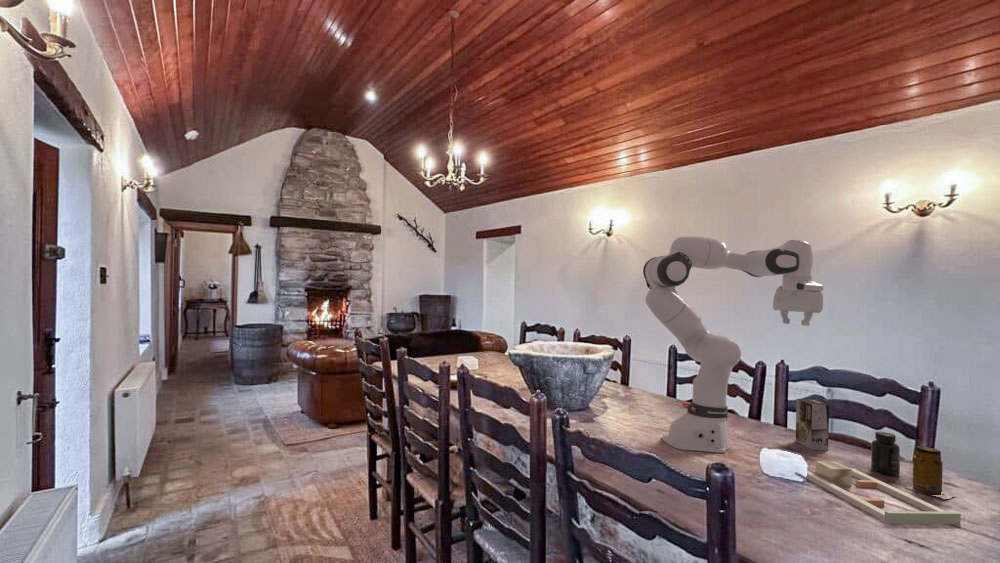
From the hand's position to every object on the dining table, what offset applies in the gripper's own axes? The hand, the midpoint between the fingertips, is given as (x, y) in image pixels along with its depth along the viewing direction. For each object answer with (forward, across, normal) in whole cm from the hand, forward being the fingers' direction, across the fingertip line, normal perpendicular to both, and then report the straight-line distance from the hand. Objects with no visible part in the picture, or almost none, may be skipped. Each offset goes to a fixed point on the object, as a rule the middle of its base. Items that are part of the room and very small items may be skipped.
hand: (795, 324), depth 163 cm
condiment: (+44, +35, +15) cm, 58 cm away
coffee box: (+44, -3, +10) cm, 45 cm away
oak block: (+44, +29, -9) cm, 53 cm away
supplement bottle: (+44, +21, +15) cm, 51 cm away
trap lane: (+44, +37, -6) cm, 58 cm away
